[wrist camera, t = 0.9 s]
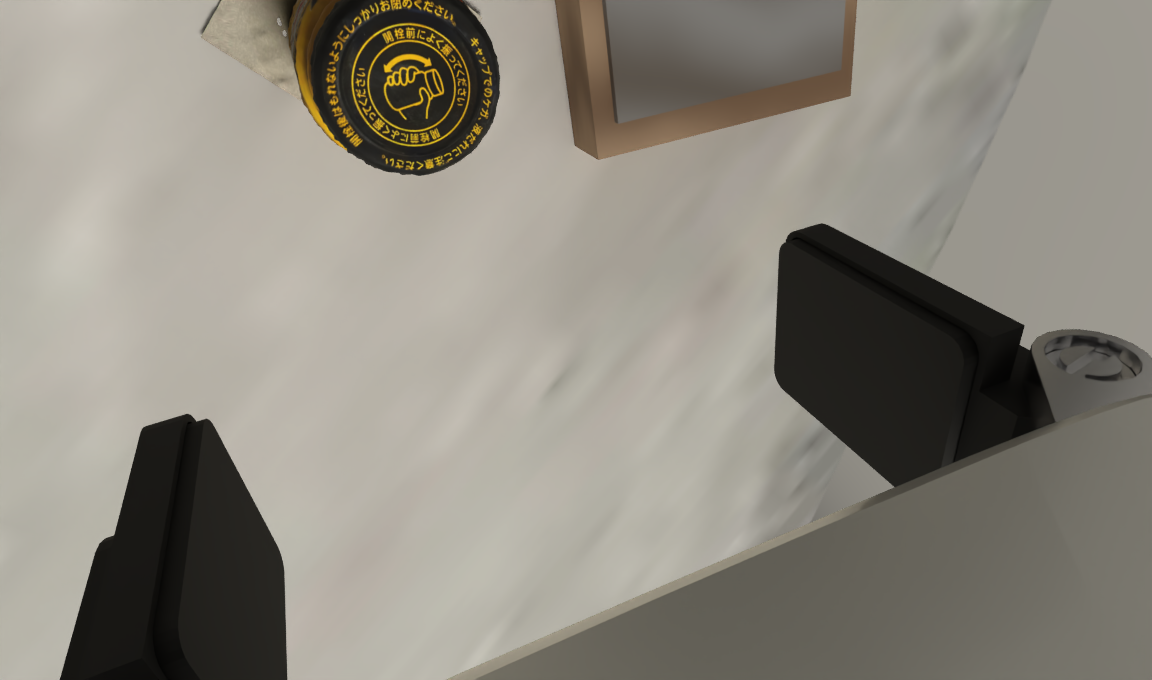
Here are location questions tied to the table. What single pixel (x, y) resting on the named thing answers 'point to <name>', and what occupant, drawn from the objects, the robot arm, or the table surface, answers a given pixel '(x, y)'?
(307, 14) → the condiment
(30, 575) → the table surface
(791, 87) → the tray
